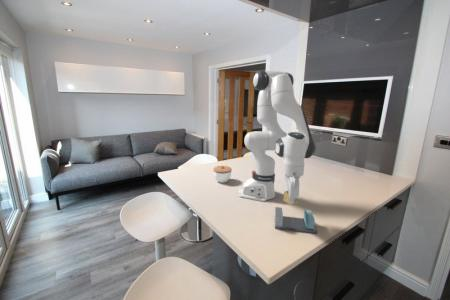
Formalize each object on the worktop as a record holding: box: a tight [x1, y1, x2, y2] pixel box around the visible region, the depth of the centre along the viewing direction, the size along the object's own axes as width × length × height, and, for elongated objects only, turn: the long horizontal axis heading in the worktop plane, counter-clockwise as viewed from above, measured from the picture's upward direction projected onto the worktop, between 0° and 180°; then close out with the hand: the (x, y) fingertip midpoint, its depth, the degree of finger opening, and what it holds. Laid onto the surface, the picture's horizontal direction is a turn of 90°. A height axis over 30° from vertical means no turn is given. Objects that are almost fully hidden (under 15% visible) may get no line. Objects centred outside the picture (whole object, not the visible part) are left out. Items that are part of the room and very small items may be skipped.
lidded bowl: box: [212, 165, 233, 184], centre depth 152 cm, size 13×13×11 cm
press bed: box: [274, 206, 318, 235], centre depth 101 cm, size 18×9×6 cm, turn 79°
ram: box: [303, 209, 316, 229], centre depth 100 cm, size 3×8×4 cm, turn 169°
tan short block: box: [283, 190, 300, 206], centre depth 99 cm, size 5×4×4 cm
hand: (290, 198), depth 99 cm, fingers closed on tan short block, 6 cm apart
